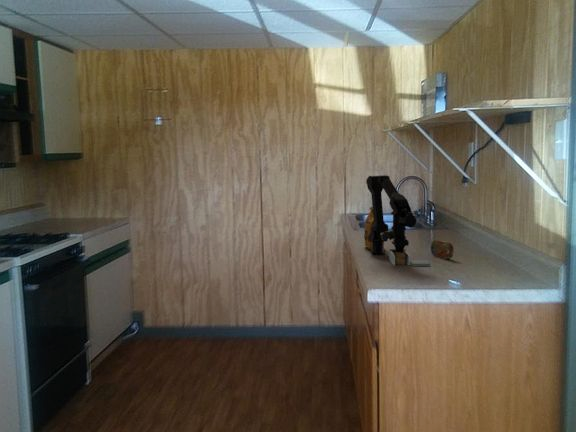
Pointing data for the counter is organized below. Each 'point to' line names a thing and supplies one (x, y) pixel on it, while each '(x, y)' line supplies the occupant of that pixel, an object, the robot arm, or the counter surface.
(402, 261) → the block
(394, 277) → the counter surface
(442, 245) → the tin
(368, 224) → the coffee package
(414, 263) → the tile
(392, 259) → the grey open rectangular frame
